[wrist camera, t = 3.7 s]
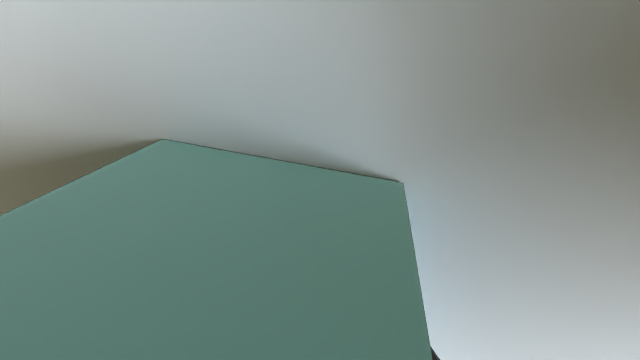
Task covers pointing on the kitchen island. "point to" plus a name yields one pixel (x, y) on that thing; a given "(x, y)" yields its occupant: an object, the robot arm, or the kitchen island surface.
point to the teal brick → (211, 264)
